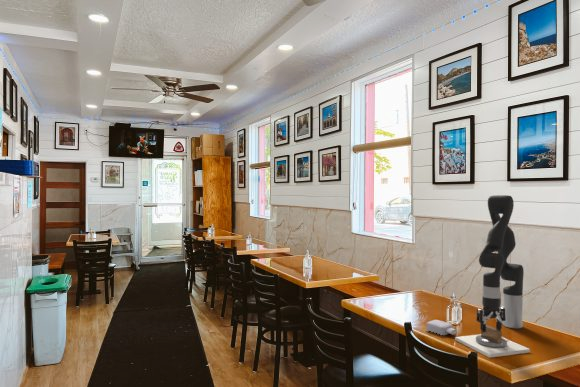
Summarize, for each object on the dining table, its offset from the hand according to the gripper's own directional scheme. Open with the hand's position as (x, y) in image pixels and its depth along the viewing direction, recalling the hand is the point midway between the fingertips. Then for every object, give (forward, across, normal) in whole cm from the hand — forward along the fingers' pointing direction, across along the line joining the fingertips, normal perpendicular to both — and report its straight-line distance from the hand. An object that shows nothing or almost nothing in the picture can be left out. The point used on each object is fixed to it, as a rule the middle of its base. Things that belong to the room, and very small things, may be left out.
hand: (490, 330), depth 192 cm
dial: (+5, 0, 0) cm, 6 cm away
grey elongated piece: (+8, +9, -21) cm, 24 cm away
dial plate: (+7, 0, 0) cm, 7 cm away
